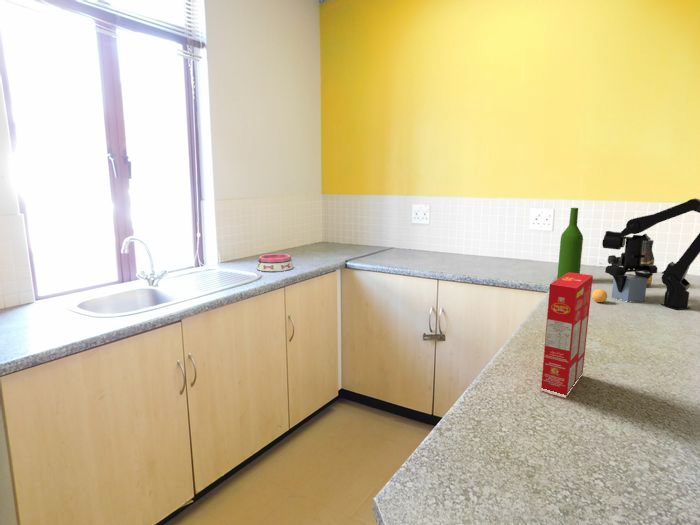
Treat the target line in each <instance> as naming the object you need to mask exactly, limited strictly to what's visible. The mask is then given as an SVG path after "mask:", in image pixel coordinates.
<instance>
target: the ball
mask: <svg viewBox="0 0 700 525" xmlns="http://www.w3.org/2000/svg"><path fill="white" fill-rule="evenodd" d="M591 297H592V300H593V301H594V302H596V303H599V302H601V303H603V302H605V301H607V299H608V294H607V292H606V291H605V290H604V289H602V288H601V289H600V288H598V289H595V290H593V292H592V293H591Z"/></svg>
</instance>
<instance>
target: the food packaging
mask: <svg viewBox="0 0 700 525" xmlns="http://www.w3.org/2000/svg"><path fill="white" fill-rule="evenodd" d="M592 286H593V275H592V274H587V273H586V274H583V273H580V274H578V273H570V272H568V273H567V274H565V275H564V276H562V277H560V278H559V279H557V278H556V280H555V281H553V282H550V283H549V289H548V290H549V291H548V301H547V302H548V304H547V313H546V314H547V315H546V326H545V338H544V350H543V362H542V372H541V385H540V387H541V388H543V389H547V390H550V391H554V392H557V393H560V394H564V395H567V393H568V392H569V391H570V389H571V388H572V387H573V385H574V384H575V382H576V381H577V380H578V379H579V377H580V376H581V375H582V373H583V374H584V365H585V354H586V345H587V336H588V326H589V317H590V308H591V307H590V305H591V297H592V289H593V288H592ZM541 388H540V389H541Z"/></svg>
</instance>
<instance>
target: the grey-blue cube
mask: <svg viewBox="0 0 700 525" xmlns="http://www.w3.org/2000/svg"><path fill="white" fill-rule="evenodd" d="M625 276H627V278H626V281H625V284H624V287H623V290H622V292H619V291H618V288H617V285H616V281H615V279H614V278H613V281H612V282H613V283H612V290H611V298H613V297H615V298H614V299H616V298H618V299H617V300H619V299H622V300H624V301H623V302H625V301H627V302H626V303H631V302H630V301H638V302H644V301H646V293H647V292H646V291H647V287H646V285H647V278H644V277H640V276H637V275H635V274H632V273H626V274H625ZM622 300H621V301H622Z"/></svg>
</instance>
